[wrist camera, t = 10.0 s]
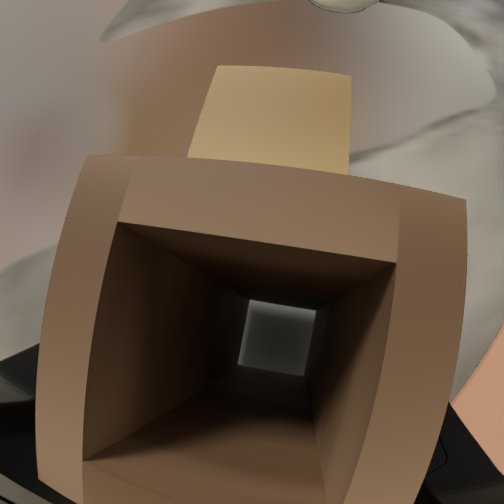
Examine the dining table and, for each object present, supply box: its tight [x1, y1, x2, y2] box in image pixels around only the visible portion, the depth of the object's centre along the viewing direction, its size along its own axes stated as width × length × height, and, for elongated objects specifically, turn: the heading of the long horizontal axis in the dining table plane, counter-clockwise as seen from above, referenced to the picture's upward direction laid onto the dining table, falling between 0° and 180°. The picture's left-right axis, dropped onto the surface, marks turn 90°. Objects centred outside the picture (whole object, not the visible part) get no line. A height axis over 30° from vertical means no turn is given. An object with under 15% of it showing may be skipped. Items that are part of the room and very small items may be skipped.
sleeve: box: [35, 66, 467, 504], centre depth 9 cm, size 7×5×12 cm
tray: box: [238, 300, 316, 376], centre depth 15 cm, size 16×16×3 cm
